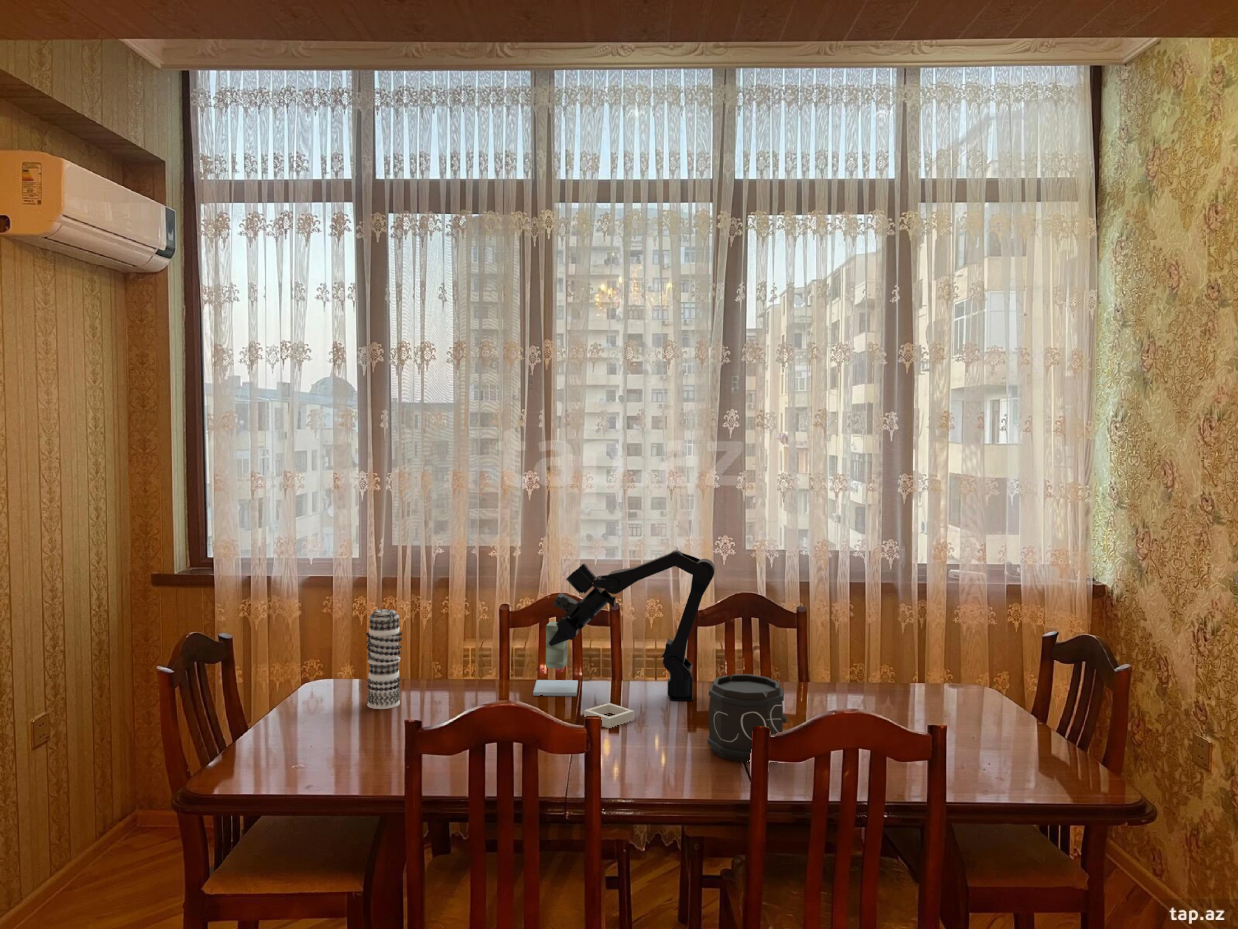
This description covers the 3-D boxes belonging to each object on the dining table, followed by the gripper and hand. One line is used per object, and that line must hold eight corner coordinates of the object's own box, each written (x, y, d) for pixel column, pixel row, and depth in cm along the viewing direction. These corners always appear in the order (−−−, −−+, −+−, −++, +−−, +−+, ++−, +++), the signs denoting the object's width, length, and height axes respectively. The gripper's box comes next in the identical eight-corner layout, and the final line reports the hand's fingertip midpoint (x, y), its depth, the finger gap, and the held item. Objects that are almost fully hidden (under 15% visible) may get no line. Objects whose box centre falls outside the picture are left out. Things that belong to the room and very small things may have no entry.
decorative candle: (396, 710, 226) (397, 614, 226) (361, 709, 227) (361, 614, 226) (405, 699, 236) (406, 607, 235) (371, 698, 236) (372, 607, 235)
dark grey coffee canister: (785, 768, 191) (787, 697, 190) (704, 760, 195) (705, 691, 194) (786, 740, 209) (788, 675, 208) (712, 734, 212) (713, 670, 212)
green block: (566, 664, 248) (567, 622, 248) (563, 668, 243) (563, 626, 243) (549, 663, 249) (550, 621, 249) (545, 667, 244) (546, 625, 244)
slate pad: (577, 683, 253) (577, 680, 253) (576, 696, 241) (576, 692, 241) (536, 683, 253) (536, 680, 253) (533, 695, 241) (533, 692, 241)
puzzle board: (609, 712, 227) (609, 702, 227) (634, 720, 221) (634, 710, 221) (584, 720, 221) (584, 710, 221) (609, 728, 215) (609, 718, 215)
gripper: (577, 579, 254) (540, 615, 256) (564, 590, 236) (524, 628, 238) (603, 607, 253) (566, 642, 255) (592, 620, 235) (552, 658, 237)
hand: (552, 642), depth 246 cm, fingers closed on green block, 5 cm apart
